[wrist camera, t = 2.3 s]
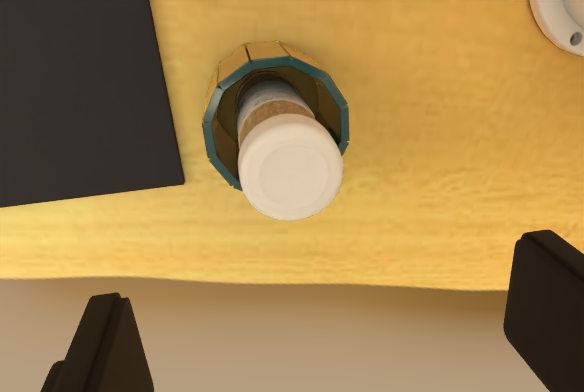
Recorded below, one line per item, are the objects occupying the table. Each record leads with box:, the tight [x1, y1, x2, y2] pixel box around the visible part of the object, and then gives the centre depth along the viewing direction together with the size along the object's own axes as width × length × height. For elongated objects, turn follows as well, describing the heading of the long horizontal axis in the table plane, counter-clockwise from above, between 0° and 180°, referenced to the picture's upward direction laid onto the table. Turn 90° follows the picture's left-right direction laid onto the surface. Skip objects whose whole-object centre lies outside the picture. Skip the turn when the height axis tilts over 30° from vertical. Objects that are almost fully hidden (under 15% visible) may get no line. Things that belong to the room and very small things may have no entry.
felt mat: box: [0, 0, 185, 208], centre depth 29 cm, size 17×14×1 cm
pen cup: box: [202, 40, 349, 191], centre depth 29 cm, size 8×8×7 cm
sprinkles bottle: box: [235, 71, 343, 221], centre depth 26 cm, size 5×5×13 cm
